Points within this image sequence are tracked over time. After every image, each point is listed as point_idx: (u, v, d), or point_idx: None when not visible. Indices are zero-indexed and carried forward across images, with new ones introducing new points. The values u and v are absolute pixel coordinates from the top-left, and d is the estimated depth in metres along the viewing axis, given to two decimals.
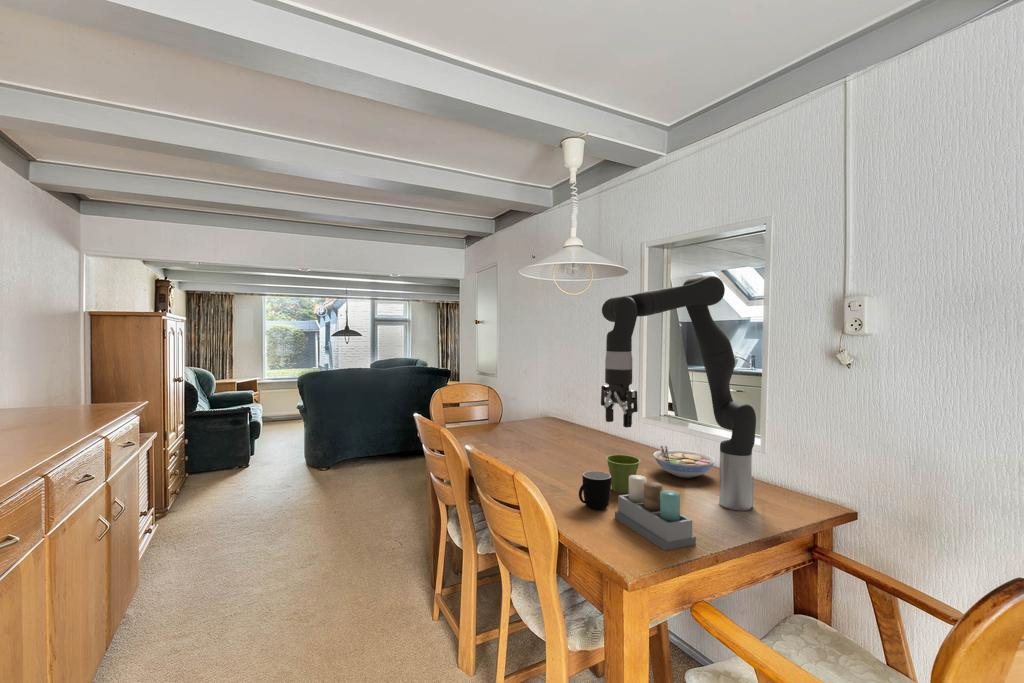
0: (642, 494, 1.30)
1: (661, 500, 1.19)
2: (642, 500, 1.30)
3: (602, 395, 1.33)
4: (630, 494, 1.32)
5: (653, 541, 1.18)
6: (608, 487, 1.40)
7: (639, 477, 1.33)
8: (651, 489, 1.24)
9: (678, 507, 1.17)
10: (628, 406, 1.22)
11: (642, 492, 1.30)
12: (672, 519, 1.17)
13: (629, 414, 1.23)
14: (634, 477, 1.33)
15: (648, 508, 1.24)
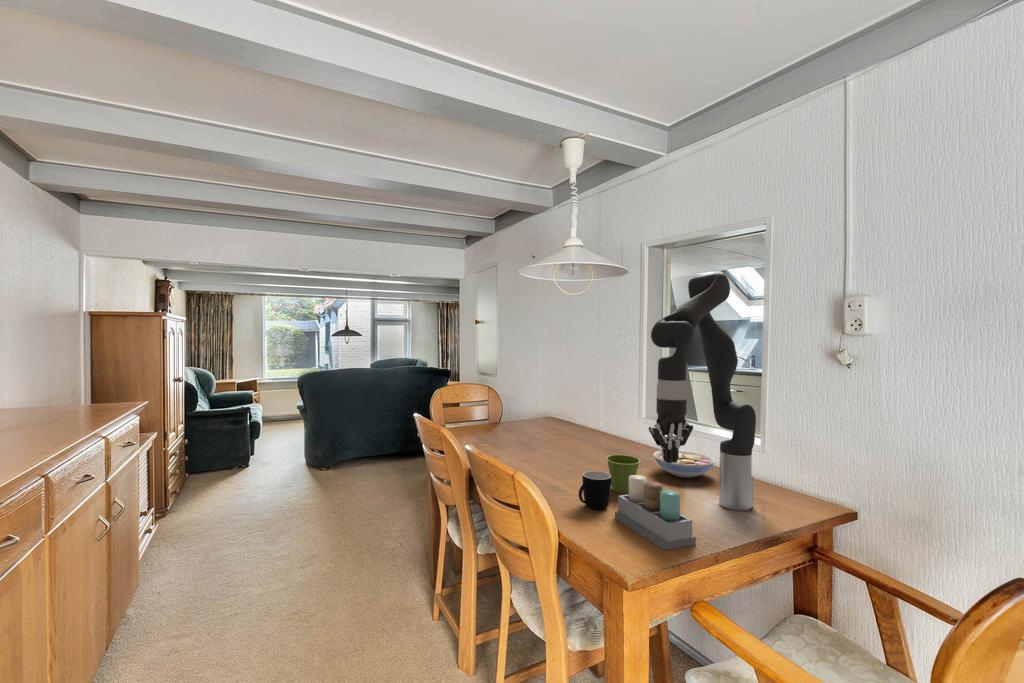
0: (642, 494, 1.30)
1: (661, 500, 1.19)
2: (642, 500, 1.30)
3: (660, 437, 1.17)
4: (630, 494, 1.32)
5: (653, 541, 1.18)
6: (608, 487, 1.40)
7: (639, 477, 1.33)
8: (651, 489, 1.24)
9: (678, 507, 1.17)
10: (685, 439, 1.19)
11: (642, 492, 1.30)
12: (672, 519, 1.17)
13: None
14: (634, 477, 1.33)
15: (648, 508, 1.24)
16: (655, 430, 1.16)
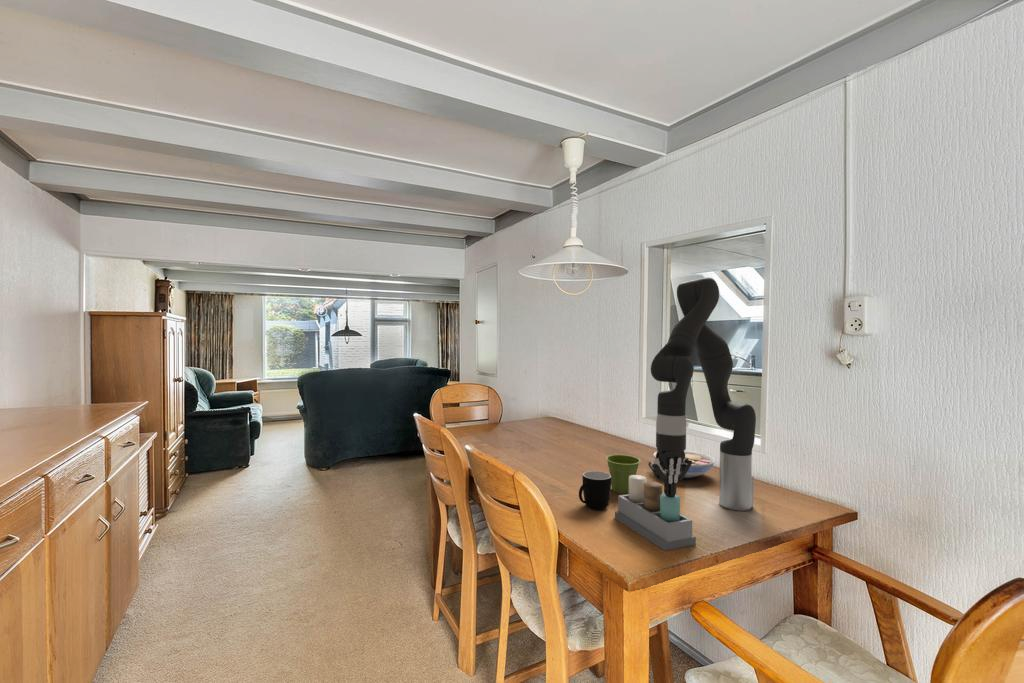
0: (642, 494, 1.30)
1: (661, 503, 1.19)
2: (642, 500, 1.30)
3: (660, 472, 1.17)
4: (630, 494, 1.32)
5: (653, 541, 1.18)
6: (608, 487, 1.40)
7: (639, 477, 1.33)
8: (651, 489, 1.24)
9: (678, 510, 1.17)
10: (683, 474, 1.19)
11: (642, 492, 1.30)
12: None
13: None
14: (634, 477, 1.33)
15: (648, 508, 1.24)
16: (655, 466, 1.16)
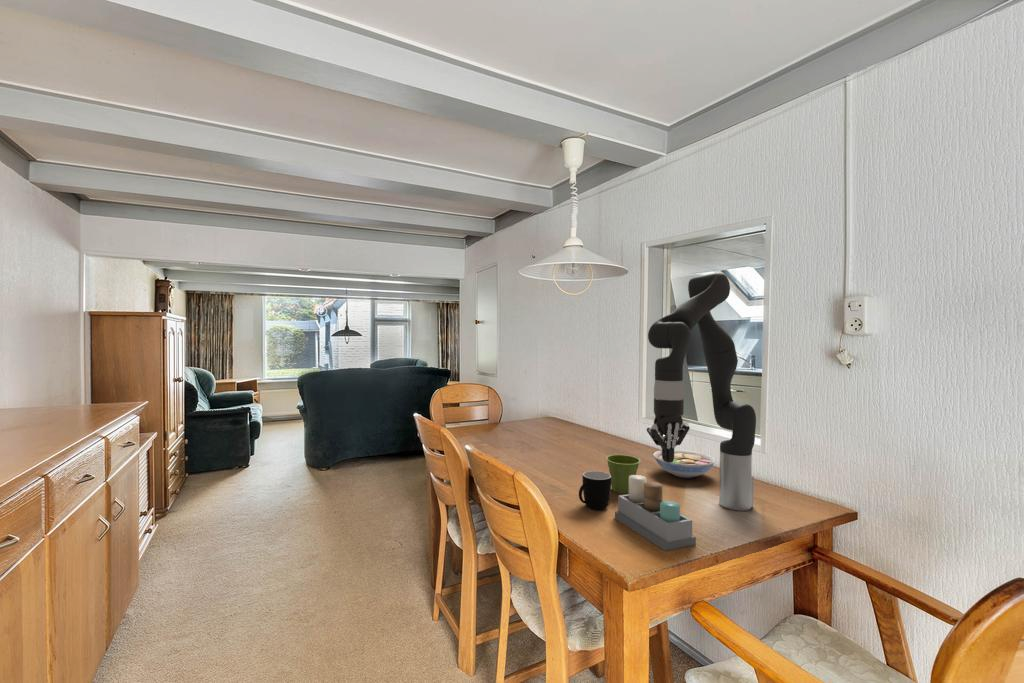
0: (642, 494, 1.30)
1: (661, 511, 1.19)
2: (642, 500, 1.30)
3: (659, 437, 1.18)
4: (630, 494, 1.32)
5: (653, 541, 1.18)
6: (608, 487, 1.40)
7: (639, 477, 1.33)
8: (651, 489, 1.24)
9: (678, 518, 1.18)
10: (680, 439, 1.21)
11: (642, 492, 1.30)
12: None
13: None
14: (634, 477, 1.33)
15: (648, 508, 1.24)
16: (653, 431, 1.17)
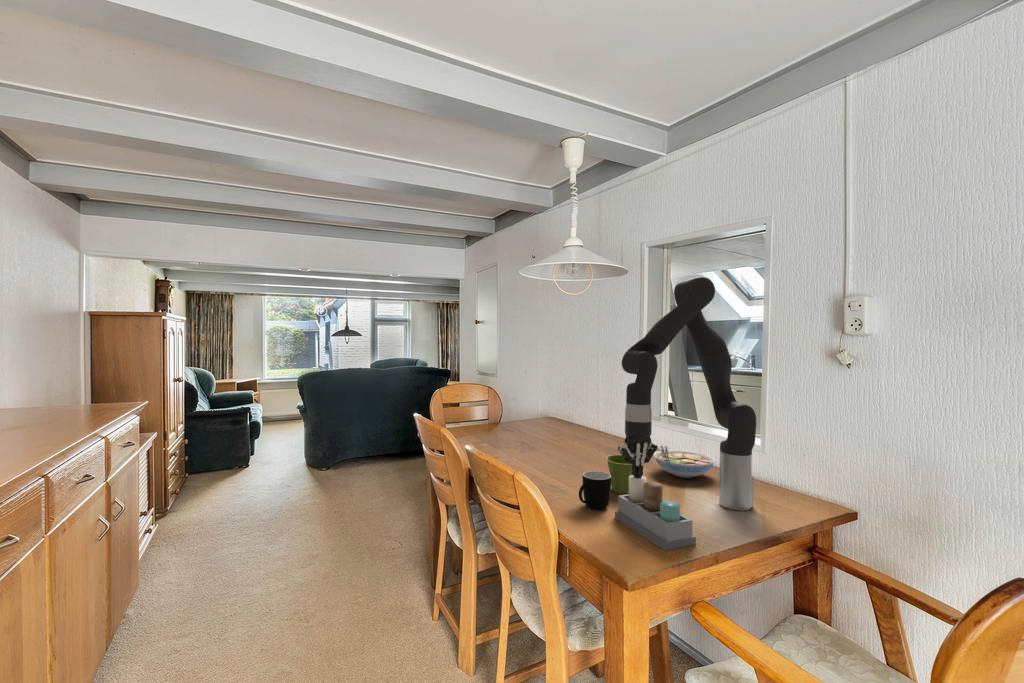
0: (642, 494, 1.30)
1: (661, 511, 1.19)
2: (642, 500, 1.30)
3: (628, 455, 1.30)
4: (630, 494, 1.32)
5: (653, 541, 1.18)
6: (608, 487, 1.40)
7: None
8: (651, 489, 1.24)
9: (678, 518, 1.18)
10: (649, 457, 1.32)
11: (642, 492, 1.30)
12: None
13: None
14: (634, 477, 1.33)
15: (648, 508, 1.24)
16: (623, 450, 1.29)
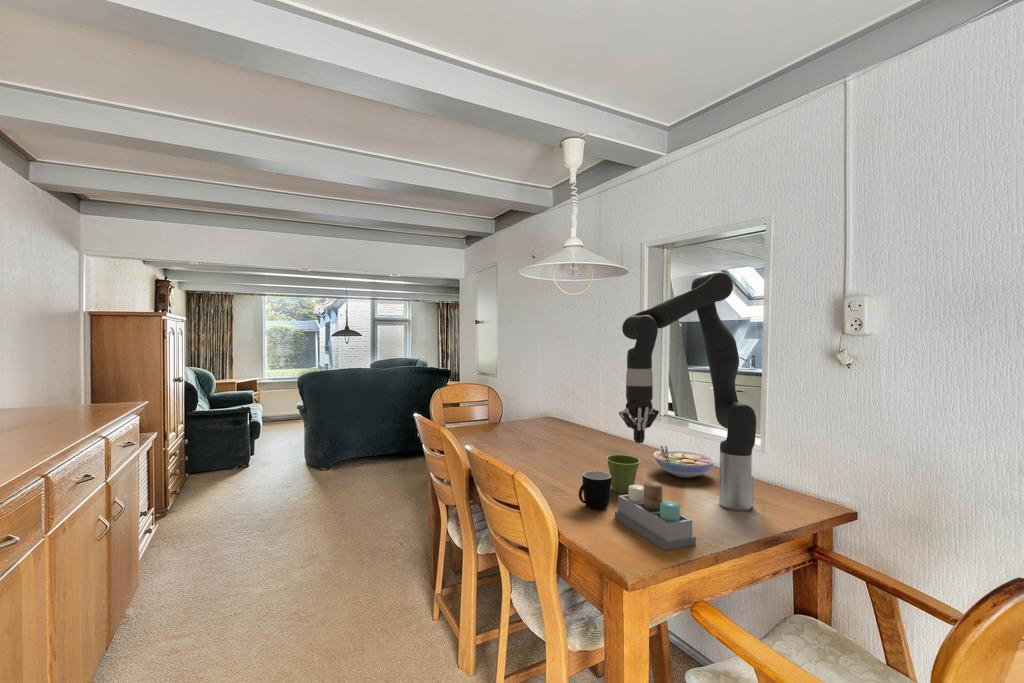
0: None
1: (661, 511, 1.19)
2: None
3: (630, 420, 1.30)
4: None
5: (653, 541, 1.18)
6: (608, 487, 1.40)
7: (639, 487, 1.33)
8: (651, 489, 1.24)
9: (678, 518, 1.18)
10: (650, 422, 1.32)
11: None
12: None
13: None
14: (634, 487, 1.33)
15: (648, 508, 1.24)
16: (624, 414, 1.29)
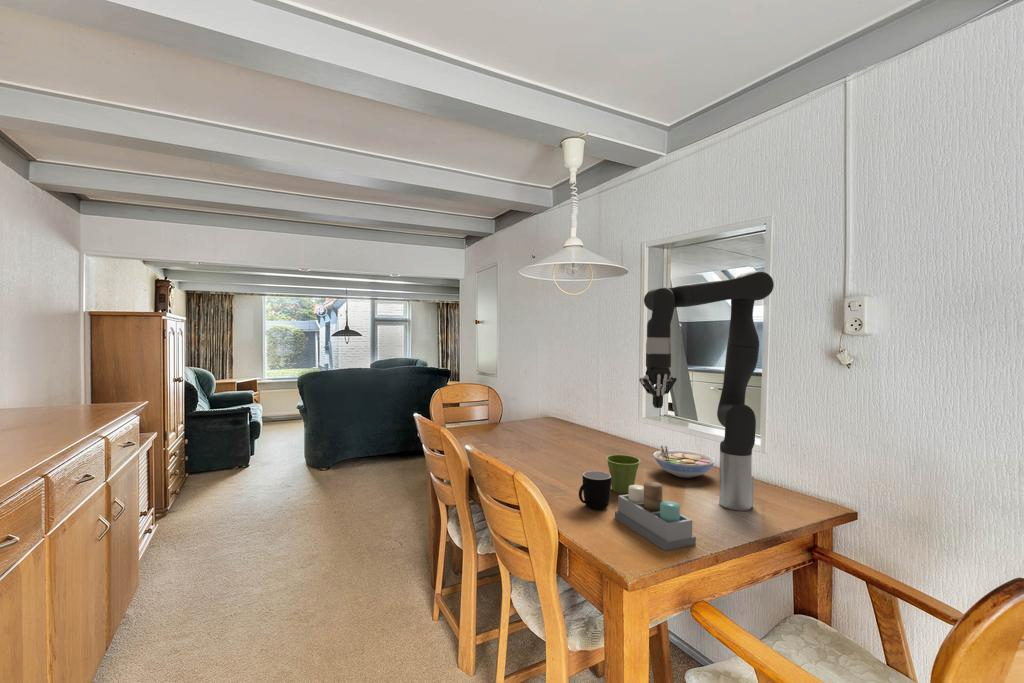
0: None
1: (661, 511, 1.19)
2: None
3: (649, 386, 1.38)
4: None
5: (653, 541, 1.18)
6: (608, 487, 1.40)
7: (639, 487, 1.33)
8: (651, 489, 1.24)
9: (678, 518, 1.18)
10: (668, 388, 1.41)
11: None
12: None
13: None
14: (634, 487, 1.33)
15: (648, 508, 1.24)
16: (645, 380, 1.37)
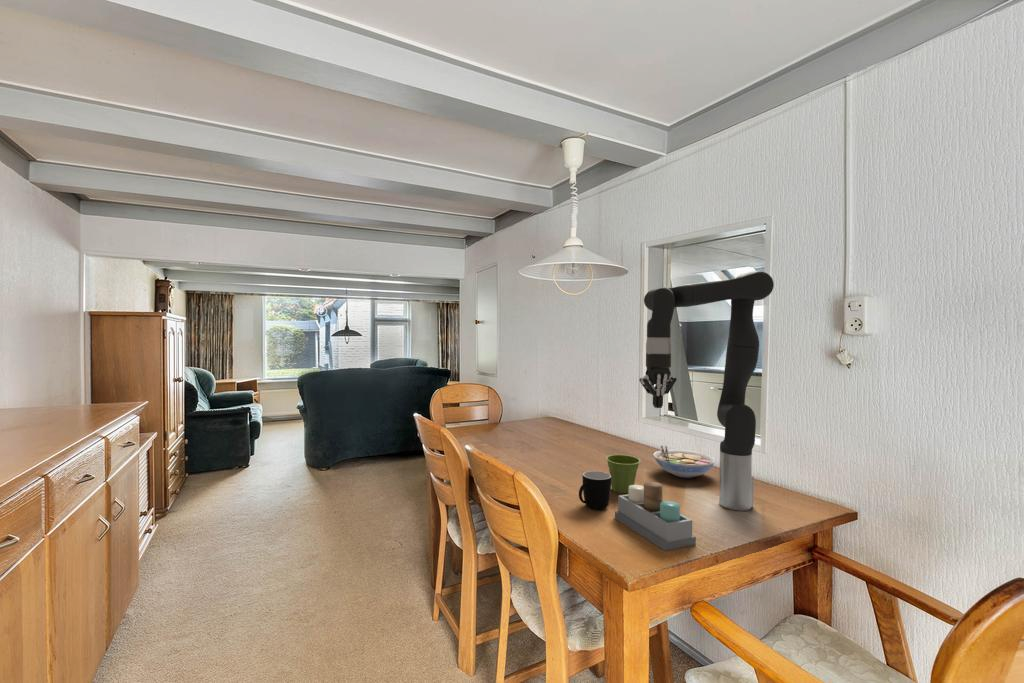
0: None
1: (661, 511, 1.19)
2: None
3: (649, 386, 1.38)
4: None
5: (653, 541, 1.18)
6: (608, 487, 1.40)
7: (639, 487, 1.33)
8: (651, 489, 1.24)
9: (678, 518, 1.18)
10: (668, 388, 1.41)
11: None
12: None
13: None
14: (634, 487, 1.33)
15: (648, 508, 1.24)
16: (645, 380, 1.37)
